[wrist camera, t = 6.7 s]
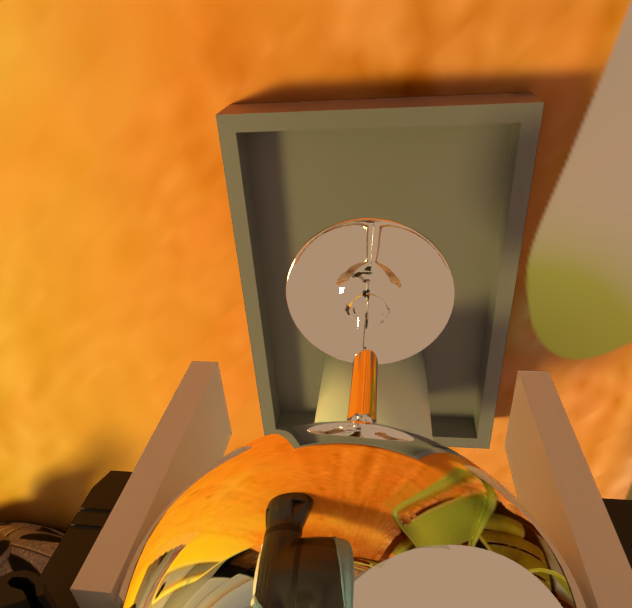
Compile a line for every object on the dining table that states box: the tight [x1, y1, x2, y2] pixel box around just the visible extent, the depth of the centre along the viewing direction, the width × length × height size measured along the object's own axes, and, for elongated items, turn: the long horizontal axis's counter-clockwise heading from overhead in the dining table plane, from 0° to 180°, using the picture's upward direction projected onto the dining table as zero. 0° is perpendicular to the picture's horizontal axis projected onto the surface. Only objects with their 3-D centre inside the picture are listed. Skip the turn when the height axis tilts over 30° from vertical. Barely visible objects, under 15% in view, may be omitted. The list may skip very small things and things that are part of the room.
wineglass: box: [114, 217, 588, 608], centre depth 12 cm, size 8×8×18 cm
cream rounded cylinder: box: [314, 351, 433, 440], centre depth 27 cm, size 6×6×9 cm
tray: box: [216, 92, 544, 449], centre depth 28 cm, size 20×14×2 cm
